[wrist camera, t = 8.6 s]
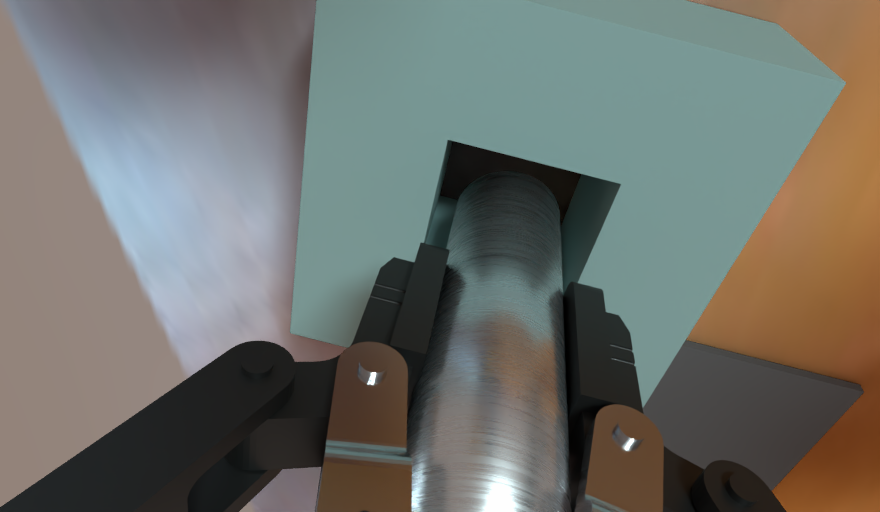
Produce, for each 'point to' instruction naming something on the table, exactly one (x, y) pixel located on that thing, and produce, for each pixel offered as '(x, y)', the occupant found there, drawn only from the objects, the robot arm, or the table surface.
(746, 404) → the mat
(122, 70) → the table surface
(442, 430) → the pin
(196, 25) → the table surface
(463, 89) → the socket block
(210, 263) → the table surface
